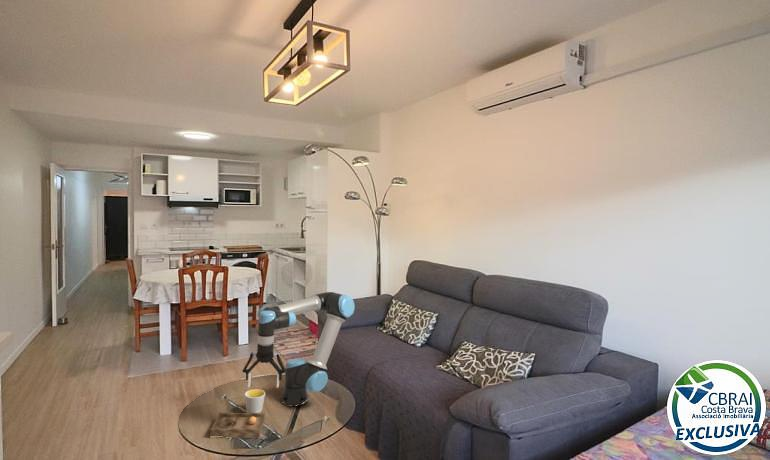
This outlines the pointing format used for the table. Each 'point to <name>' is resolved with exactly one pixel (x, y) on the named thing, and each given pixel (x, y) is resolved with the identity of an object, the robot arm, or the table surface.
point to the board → (237, 425)
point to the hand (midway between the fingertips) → (263, 386)
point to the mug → (254, 400)
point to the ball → (252, 420)
